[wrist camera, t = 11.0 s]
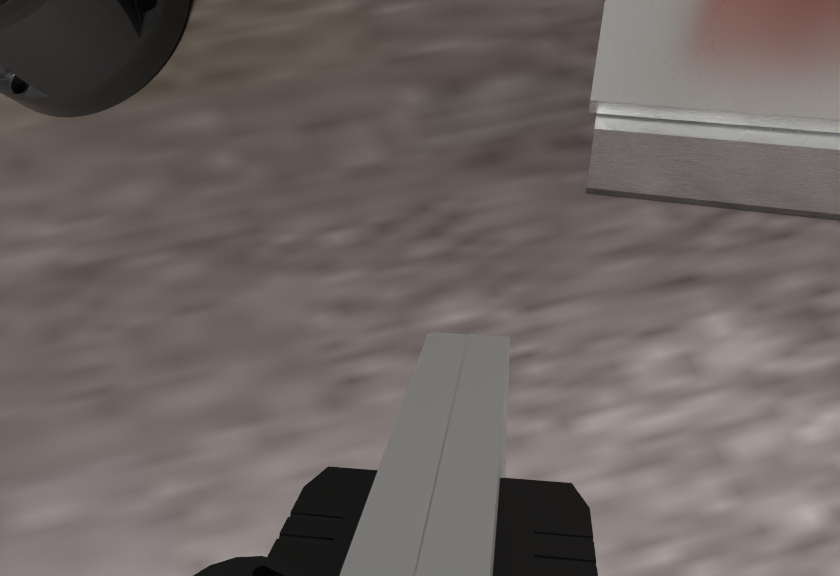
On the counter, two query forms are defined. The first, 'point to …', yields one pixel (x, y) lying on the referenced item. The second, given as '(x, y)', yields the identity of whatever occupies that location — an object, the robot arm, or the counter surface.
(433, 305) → the counter surface
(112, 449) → the counter surface
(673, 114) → the lid
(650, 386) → the counter surface
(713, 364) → the counter surface
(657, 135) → the grey storage bin
